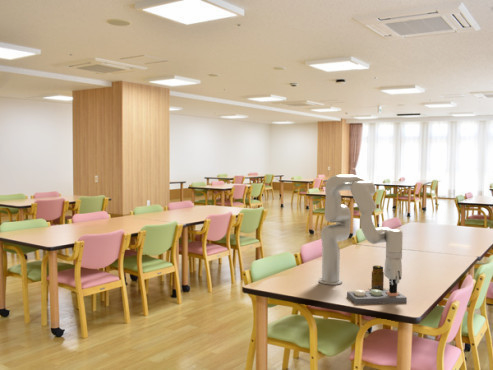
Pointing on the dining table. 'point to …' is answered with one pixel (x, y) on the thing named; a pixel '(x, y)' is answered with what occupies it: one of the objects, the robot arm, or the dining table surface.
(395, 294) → the button terracotta
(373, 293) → the button sage
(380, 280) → the condiment
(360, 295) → the button cream
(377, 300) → the panel
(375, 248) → the dining table surface
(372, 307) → the dining table surface
